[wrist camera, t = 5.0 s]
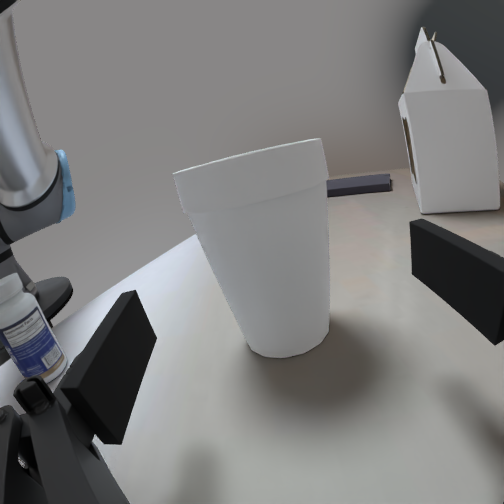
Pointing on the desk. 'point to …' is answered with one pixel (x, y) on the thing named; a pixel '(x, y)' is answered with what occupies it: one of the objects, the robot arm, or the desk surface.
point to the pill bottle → (28, 332)
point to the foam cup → (267, 241)
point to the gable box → (448, 133)
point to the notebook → (358, 185)
